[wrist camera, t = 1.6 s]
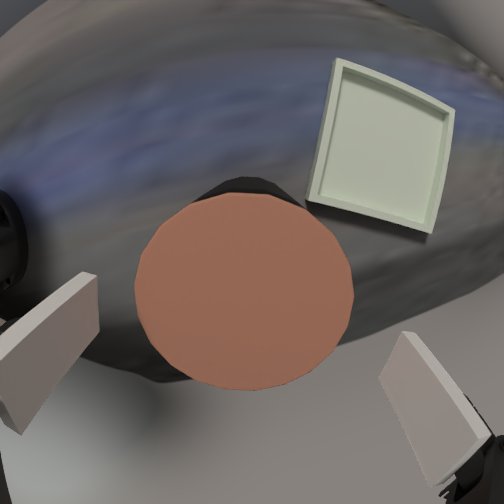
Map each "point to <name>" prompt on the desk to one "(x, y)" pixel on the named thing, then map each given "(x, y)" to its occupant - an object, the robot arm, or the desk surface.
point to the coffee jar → (244, 288)
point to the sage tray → (381, 148)
